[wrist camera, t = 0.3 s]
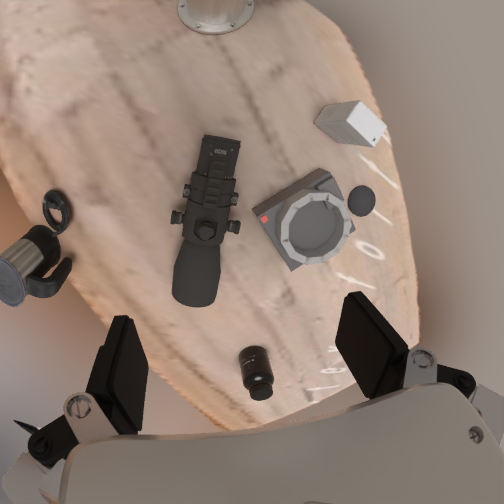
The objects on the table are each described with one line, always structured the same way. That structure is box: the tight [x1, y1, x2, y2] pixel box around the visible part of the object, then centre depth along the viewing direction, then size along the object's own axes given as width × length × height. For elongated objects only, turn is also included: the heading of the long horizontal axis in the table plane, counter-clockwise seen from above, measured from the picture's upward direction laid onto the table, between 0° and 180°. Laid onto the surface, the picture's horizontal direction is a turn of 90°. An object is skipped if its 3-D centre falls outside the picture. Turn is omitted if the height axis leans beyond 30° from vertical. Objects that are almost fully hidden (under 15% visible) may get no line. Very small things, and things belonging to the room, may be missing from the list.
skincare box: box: [314, 100, 387, 147], centre depth 37 cm, size 6×4×12 cm
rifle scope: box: [171, 135, 241, 307], centre depth 41 cm, size 10×26×10 cm, turn 167°
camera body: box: [252, 168, 356, 271], centre depth 45 cm, size 12×14×8 cm
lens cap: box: [348, 186, 375, 217], centre depth 49 cm, size 6×6×1 cm
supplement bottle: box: [239, 346, 274, 401], centre depth 56 cm, size 7×7×12 cm
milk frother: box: [0, 191, 72, 307], centre depth 34 cm, size 14×16×15 cm
